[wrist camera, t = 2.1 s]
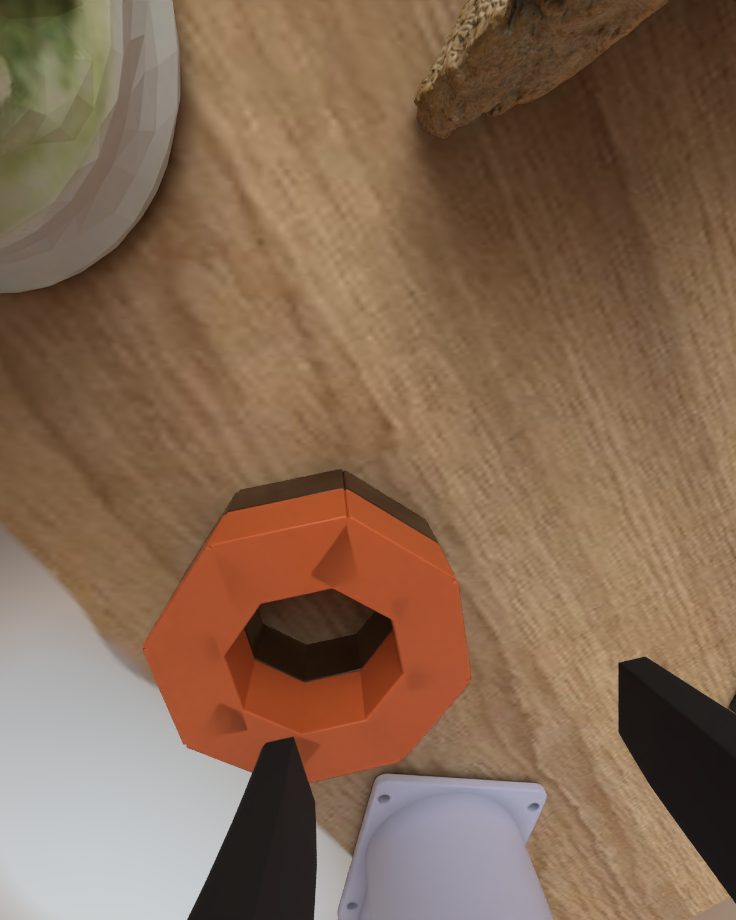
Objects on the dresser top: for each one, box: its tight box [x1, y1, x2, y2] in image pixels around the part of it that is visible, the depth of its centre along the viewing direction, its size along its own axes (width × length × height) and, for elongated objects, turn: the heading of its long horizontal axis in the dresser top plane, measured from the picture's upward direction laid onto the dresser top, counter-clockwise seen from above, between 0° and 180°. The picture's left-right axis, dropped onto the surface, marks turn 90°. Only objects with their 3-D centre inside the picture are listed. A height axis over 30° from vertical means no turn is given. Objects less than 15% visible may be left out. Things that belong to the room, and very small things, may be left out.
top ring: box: [143, 489, 471, 783], centre depth 13 cm, size 9×9×2 cm
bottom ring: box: [171, 469, 438, 682], centre depth 15 cm, size 9×9×2 cm
